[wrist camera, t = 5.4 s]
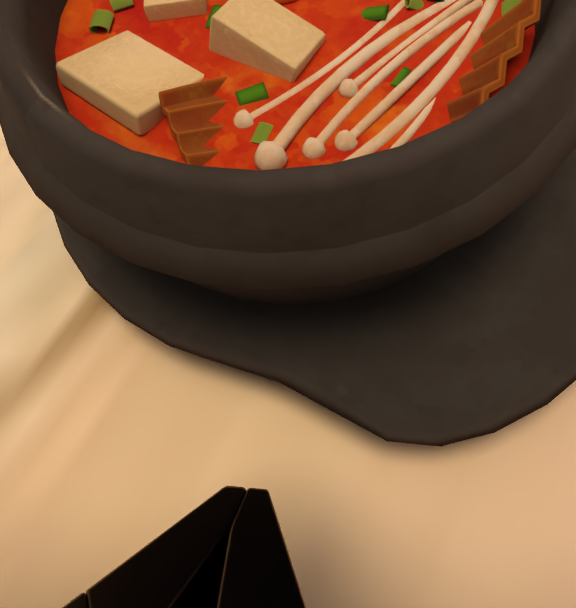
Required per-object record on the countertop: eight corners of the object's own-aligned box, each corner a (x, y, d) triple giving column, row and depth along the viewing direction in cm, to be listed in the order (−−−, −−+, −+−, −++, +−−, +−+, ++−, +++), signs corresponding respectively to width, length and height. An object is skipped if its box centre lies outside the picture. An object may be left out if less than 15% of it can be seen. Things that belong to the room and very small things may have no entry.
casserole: (728, 203, 17) (1052, -33, 10) (356, 600, 14) (390, 737, 6) (268, -89, 25) (240, -348, 18) (-43, 117, 22) (-249, -91, 14)
